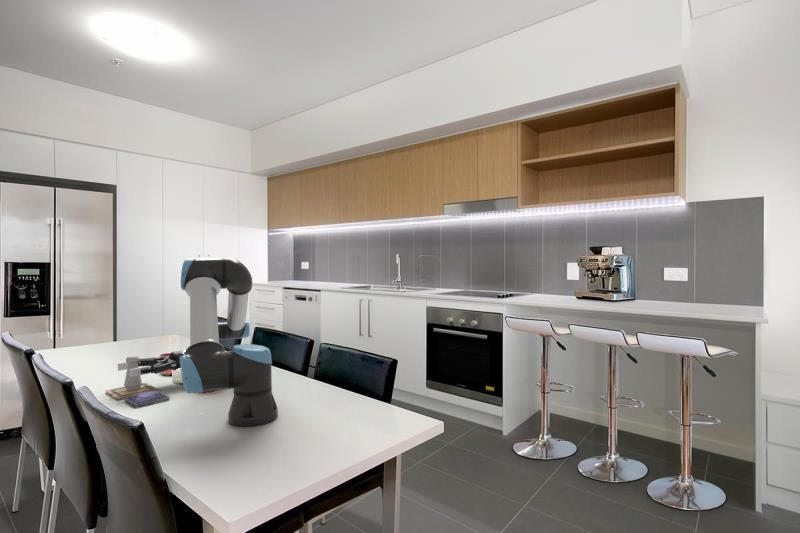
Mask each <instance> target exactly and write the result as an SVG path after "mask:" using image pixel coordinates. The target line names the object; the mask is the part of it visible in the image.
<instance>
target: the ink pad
mask: <svg viewBox="0 0 800 533" xmlns="http://www.w3.org/2000/svg"><path fill="white" fill-rule="evenodd" d="M166 401H170V396H169V395H168V394H166V393H163V392H161V391H160V390H159V391H152V392H147V393H142V394H138V395H133V396H129V397H126V398H125V399H124V402H125V403H127V404H129V405H131V406H132V407H133V406H134V407H133V408H135V409H136V408H142V407H146V406H149V405H153V404H157V403H162V402H166Z"/></svg>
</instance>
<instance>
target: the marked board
mask: <svg viewBox="0 0 800 533" xmlns="http://www.w3.org/2000/svg"><path fill="white" fill-rule="evenodd" d="M152 391H159V392H160V389H159V388H158V387H156V386H154V385H152V384H149V383H148V382H142V384H141V386H140V389H139V390H136V391H127V389H126V388H125V386H123V387H117V388H112V389H107V390H105V393H106V394H107V395H109V396H110V397H112V398H113V399H115V400H116V401H123V400H125V398H126V397H129V396H133V395H138V394H142V393H147V392H152Z"/></svg>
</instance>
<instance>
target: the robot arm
mask: <svg viewBox="0 0 800 533" xmlns="http://www.w3.org/2000/svg"><path fill="white" fill-rule="evenodd" d="M180 272H181V275H180V288H181V290H182V291H185V293H186V295H187V296H189V343H190V344H189V346H188V347H187V348H186V349H182V350H178V351H177V350H176V351H171V352H170V353H169V356H168V357H166V356H156V357H155V356H154V357H145V358H139V361H138V362H137V363H138V368H135V369H130V377H134V376H139V375H140V376H143V375H149V374H155V375H157V374H160V373H163V372H165V371H168V370H172V371H177V370H176V369H178V368H181V369H180V373H181V375H180V376H181V382H182V386H183V390H184V391H185V393H187V394H197V393H198V394H203V393H206V392H216V391H223V390H230V389H233V397H232V400H231V404H230V407H229V410H228V414H227V419H228V423H229V424H230V425H232V426H237V427H255V426H256V427H257V426H261V425H264V424H268V423H270V422H273V421H274V420H276V419H277V418H278V415H279V410H278V405H277V403H276V400H275V397H274V395H273V390H272V389H273V385H272V383H273V382H272V364H273V360H272V353H271V350H270V348H269V347H266V346H264V345H258V344H248V343H243V344H242V343H241V344H235V345H234V346H233V347H232V348H231V349H232V350H228V351H227V350H225V346H224V345H223V344H222V343H220V341H223V340H224V341H225V340H241V339H246V338H249V336H250V332H251V331H250V323H249V321H248V320H247V313H248V312H247V311H248V301H249V293H250V292H251V291H252V288H253V277H252V275H251V272H250V270H249V269H248V268H247V267H246V265H244V264H243V263H242V262H241V261H239V260H238V259H235V258H232V257H193V258H185V259H184V261H183V263H182V266H181V271H180ZM222 289H223V290H225V289H226V290H227V292H228V297H227V299H228V300H227V317H226V318H227V319H226V321H225V322H219V320H218V319H219V318H218V316H219V315H218V300H217V296H218V294H220V292H221V290H222ZM127 367H128V363H126V361H125V362H119V363H118V362H117V371H119V372H120V371H124V370H127Z"/></svg>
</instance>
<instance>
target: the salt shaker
mask: <svg viewBox="0 0 800 533" xmlns="http://www.w3.org/2000/svg"><path fill="white" fill-rule="evenodd" d="M139 359H140V357H139V356H138V355H130V356H126V359H125V362H126V363H128V367H127V369H126V374H125V379H124V384H123V387H125V388H126V389H127V391H136V390H139V389H140V386H141V384H142V383H143V382H142V377H141V376H142V375H139V376H134V377H130V369H135V368H139V366H138V363H137V362H138V361H139Z"/></svg>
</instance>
